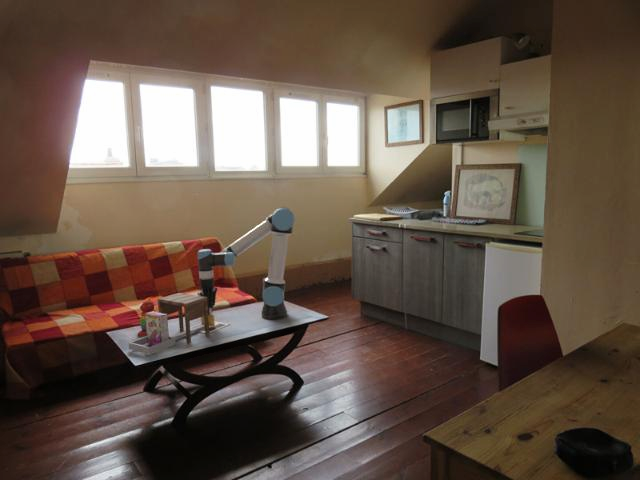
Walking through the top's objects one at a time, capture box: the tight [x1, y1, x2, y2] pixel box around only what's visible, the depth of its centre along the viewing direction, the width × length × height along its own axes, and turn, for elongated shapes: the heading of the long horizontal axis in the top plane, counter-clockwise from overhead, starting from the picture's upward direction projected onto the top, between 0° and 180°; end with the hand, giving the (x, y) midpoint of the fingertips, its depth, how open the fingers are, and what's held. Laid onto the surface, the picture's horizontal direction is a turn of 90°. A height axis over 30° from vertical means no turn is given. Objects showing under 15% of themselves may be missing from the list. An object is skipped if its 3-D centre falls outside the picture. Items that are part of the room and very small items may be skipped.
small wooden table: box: [157, 292, 211, 345], centre depth 234 cm, size 21×14×20 cm, turn 58°
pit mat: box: [190, 320, 231, 334], centre depth 249 cm, size 16×17×1 cm
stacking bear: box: [137, 299, 156, 337], centre depth 242 cm, size 11×10×18 cm
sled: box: [128, 314, 215, 355], centre depth 230 cm, size 15×45×6 cm, turn 148°
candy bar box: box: [145, 310, 170, 347], centre depth 221 cm, size 11×5×16 cm, turn 57°
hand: (209, 319), depth 250 cm, fingers closed
